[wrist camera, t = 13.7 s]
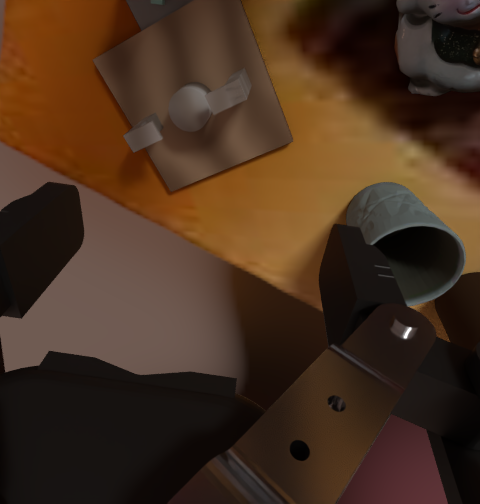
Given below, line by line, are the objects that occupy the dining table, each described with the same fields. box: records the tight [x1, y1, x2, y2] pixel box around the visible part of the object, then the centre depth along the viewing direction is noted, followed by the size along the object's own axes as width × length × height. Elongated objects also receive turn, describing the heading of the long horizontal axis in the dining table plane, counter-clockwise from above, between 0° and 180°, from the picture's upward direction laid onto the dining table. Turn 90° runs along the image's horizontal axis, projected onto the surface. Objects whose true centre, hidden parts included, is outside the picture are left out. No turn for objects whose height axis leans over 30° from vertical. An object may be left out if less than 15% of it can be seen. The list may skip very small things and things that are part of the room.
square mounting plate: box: [93, 0, 293, 192], centre depth 37 cm, size 16×16×8 cm
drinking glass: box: [346, 182, 466, 307], centre depth 41 cm, size 10×10×12 cm
